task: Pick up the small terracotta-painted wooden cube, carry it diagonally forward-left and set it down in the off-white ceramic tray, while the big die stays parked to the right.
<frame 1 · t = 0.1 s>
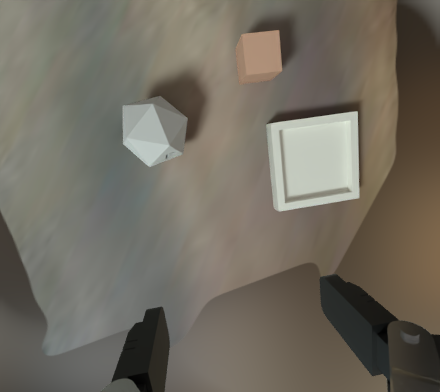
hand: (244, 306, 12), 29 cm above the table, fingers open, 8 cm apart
die: (158, 132, 38), on the table
tray: (310, 161, 41), on the table
cube: (253, 65, 37), on the table
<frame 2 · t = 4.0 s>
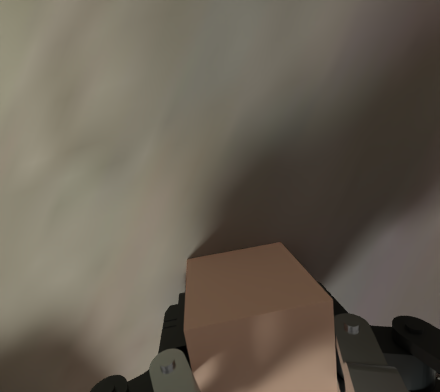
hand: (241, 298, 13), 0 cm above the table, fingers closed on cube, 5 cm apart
cube: (240, 292, 13), on the table, touching gripper
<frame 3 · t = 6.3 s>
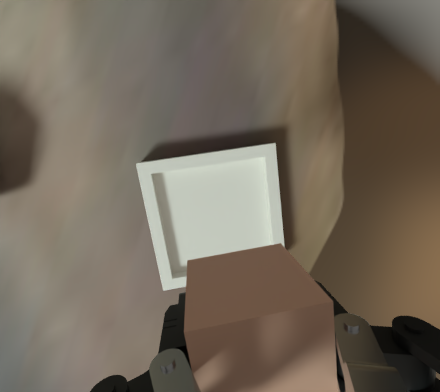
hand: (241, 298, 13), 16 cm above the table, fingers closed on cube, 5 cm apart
tray: (215, 213, 28), on the table
cube: (240, 293, 13), point 15 cm above the table, touching gripper
when the fingers open (2 cm above the table, at t = 8.6 s): cube stays where it is, resting on tray.
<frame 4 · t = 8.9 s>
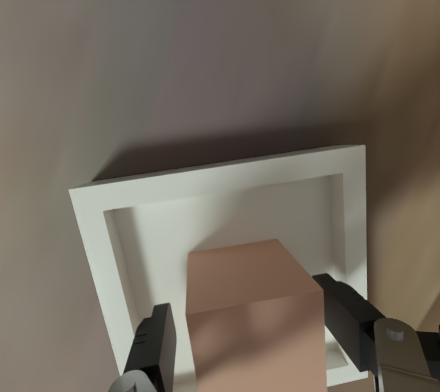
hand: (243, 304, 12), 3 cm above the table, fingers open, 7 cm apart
tray: (234, 274, 15), on the table
cube: (238, 286, 14), point 1 cm above the table, touching tray
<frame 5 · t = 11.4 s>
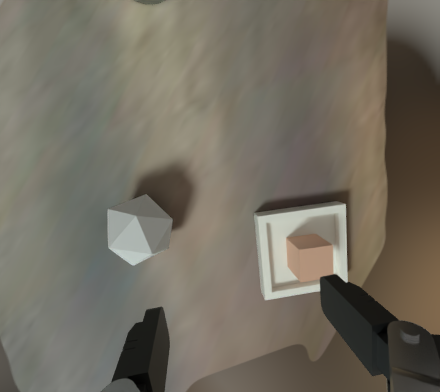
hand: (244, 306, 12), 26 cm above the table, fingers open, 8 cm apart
die: (145, 221, 38), on the table
tray: (298, 247, 41), on the table
cube: (301, 250, 40), point 1 cm above the table, touching tray
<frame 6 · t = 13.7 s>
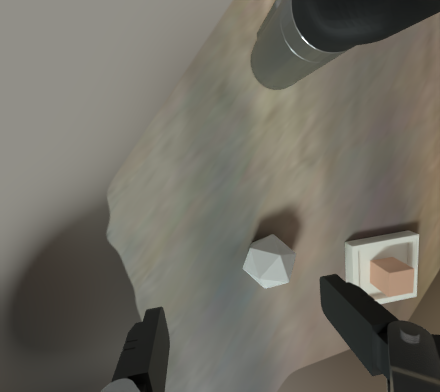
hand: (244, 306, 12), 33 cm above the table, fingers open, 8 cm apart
die: (262, 251, 48), on the table
tray: (377, 266, 52), on the table
cube: (381, 269, 50), point 1 cm above the table, touching tray
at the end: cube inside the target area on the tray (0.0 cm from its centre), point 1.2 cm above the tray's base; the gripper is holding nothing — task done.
